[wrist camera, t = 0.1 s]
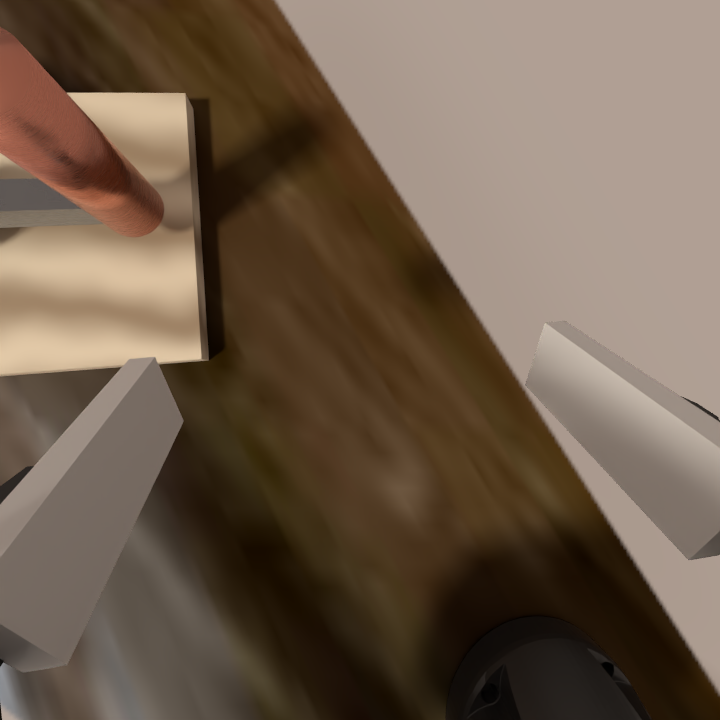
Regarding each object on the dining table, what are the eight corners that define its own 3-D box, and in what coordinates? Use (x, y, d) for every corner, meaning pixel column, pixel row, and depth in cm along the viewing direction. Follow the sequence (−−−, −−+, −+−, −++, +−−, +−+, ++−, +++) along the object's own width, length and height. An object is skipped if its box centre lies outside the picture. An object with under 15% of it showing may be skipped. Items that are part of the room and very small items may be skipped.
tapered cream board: (208, 360, 26) (168, 354, 19) (-88, 383, 24) (-247, 384, 17) (193, 107, 27) (149, 21, 20) (-93, 107, 25) (-244, 11, 18)
